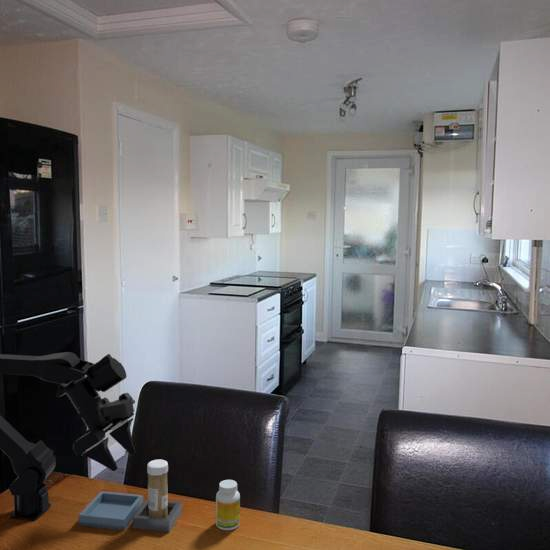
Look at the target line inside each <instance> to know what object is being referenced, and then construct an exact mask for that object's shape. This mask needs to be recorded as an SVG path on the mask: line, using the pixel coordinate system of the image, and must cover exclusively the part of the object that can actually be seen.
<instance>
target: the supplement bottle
mask: <svg viewBox="0 0 550 550" xmlns="http://www.w3.org/2000/svg"><path fill="white" fill-rule="evenodd" d="M218 489H219V490H218V491H217V492H216V495H215V525H216V527H217V529H220V530H223V531H232V530H234V529H237V528H239V526H240V521H241V512H240V511H241V510H240V509H241V495H240V494H241V493H240V492H239V490H238V483H237V481H235V480H233V479H225V480H221V481H220V482H219V485H218Z"/></svg>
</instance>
